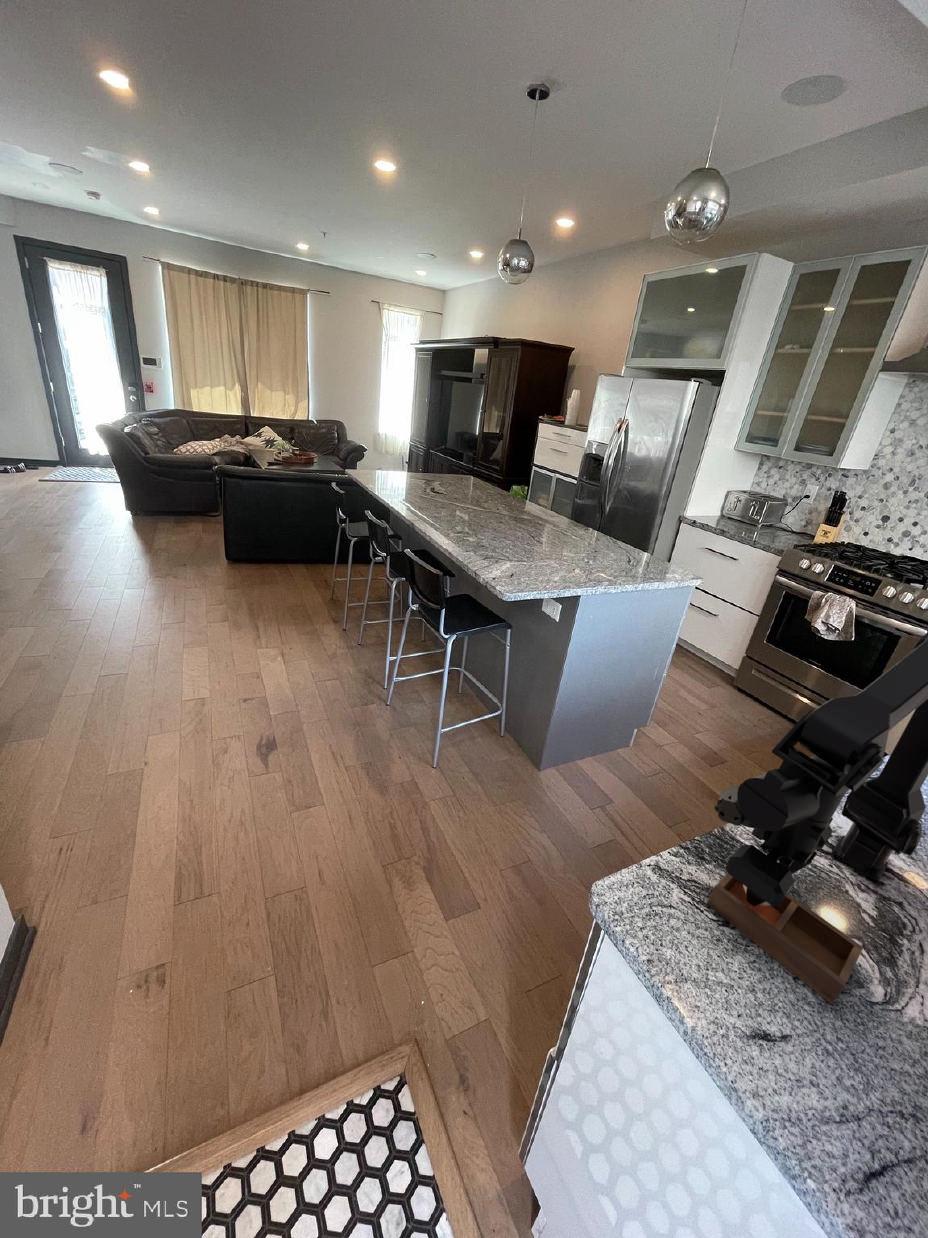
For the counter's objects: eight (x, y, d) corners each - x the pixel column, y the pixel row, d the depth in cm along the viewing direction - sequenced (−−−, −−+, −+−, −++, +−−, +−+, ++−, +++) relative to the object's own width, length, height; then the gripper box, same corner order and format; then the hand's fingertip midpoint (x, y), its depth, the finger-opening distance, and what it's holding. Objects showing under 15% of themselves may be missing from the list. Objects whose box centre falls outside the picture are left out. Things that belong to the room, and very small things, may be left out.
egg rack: (731, 876, 75) (740, 859, 73) (851, 965, 64) (863, 947, 63) (706, 904, 70) (714, 886, 68) (831, 1005, 59) (844, 986, 58)
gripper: (766, 745, 73) (729, 826, 79) (706, 791, 62) (668, 882, 68) (855, 792, 66) (806, 878, 72) (805, 856, 54) (752, 951, 60)
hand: (758, 894), depth 68 cm, fingers closed on egg, 5 cm apart
